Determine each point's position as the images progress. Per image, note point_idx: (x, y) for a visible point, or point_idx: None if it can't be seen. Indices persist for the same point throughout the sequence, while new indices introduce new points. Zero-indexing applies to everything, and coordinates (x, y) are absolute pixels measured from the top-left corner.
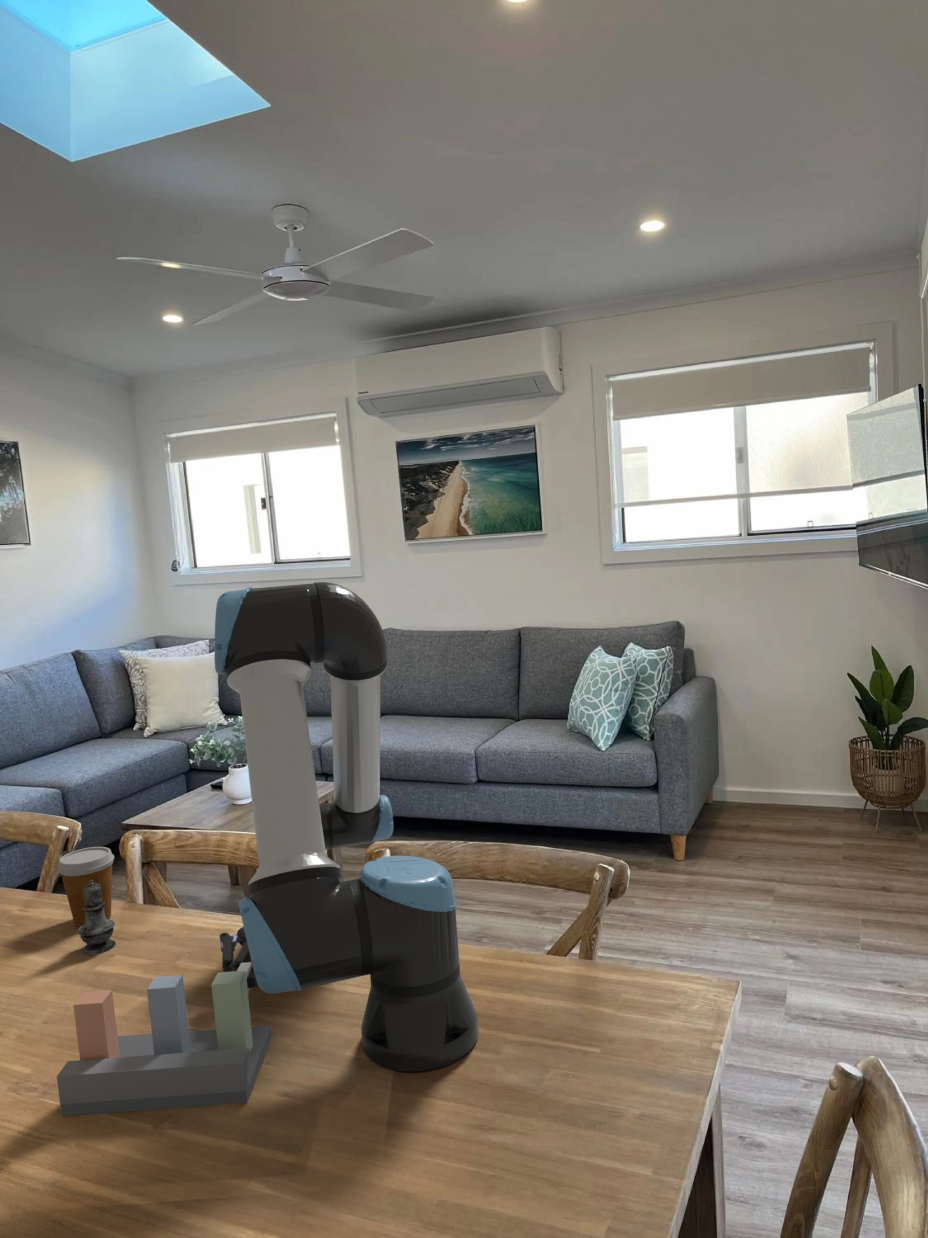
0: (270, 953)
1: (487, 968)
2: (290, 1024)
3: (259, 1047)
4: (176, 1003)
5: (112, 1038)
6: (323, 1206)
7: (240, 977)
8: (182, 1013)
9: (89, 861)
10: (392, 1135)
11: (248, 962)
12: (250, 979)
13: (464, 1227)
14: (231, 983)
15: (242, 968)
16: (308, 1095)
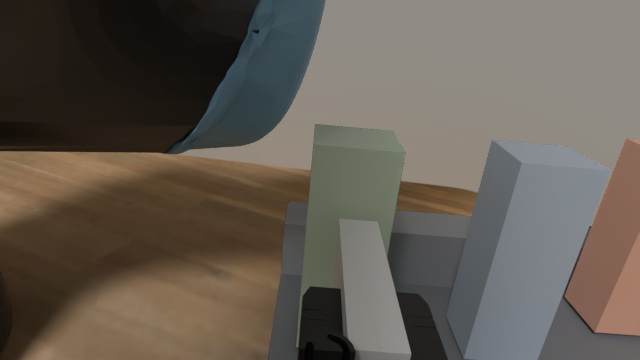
0: None
1: None
2: None
3: (278, 347)
4: (482, 182)
5: (608, 246)
6: (188, 165)
7: (319, 131)
8: (481, 238)
9: None
10: (82, 199)
11: (367, 346)
12: (324, 289)
13: None
14: (337, 127)
15: (378, 306)
16: (177, 264)
